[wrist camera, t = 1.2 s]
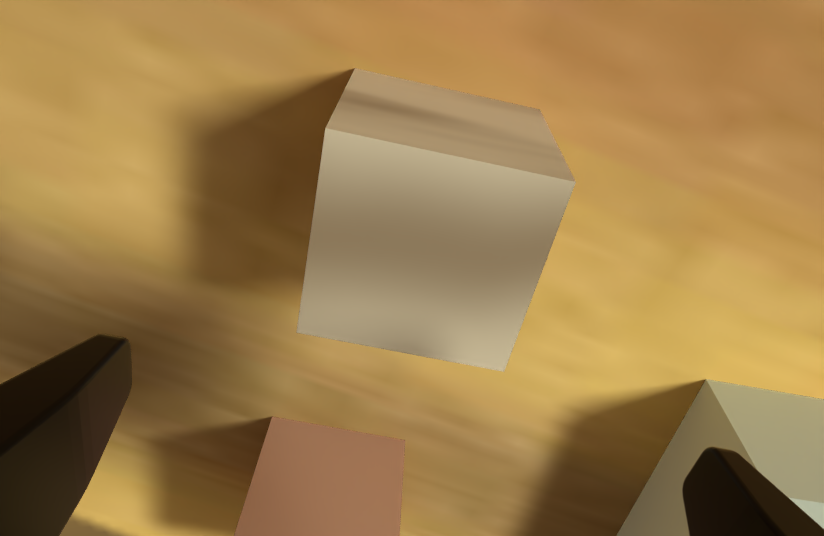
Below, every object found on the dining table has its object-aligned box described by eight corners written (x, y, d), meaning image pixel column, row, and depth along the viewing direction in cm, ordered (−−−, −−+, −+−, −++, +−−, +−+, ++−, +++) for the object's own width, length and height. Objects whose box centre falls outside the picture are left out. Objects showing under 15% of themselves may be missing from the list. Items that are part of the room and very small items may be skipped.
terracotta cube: (381, 521, 25) (369, 647, 21) (261, 501, 25) (225, 625, 21) (405, 438, 23) (397, 561, 19) (272, 415, 22) (233, 535, 18)
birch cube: (488, 265, 19) (503, 371, 15) (329, 233, 18) (296, 332, 14) (539, 108, 16) (575, 181, 12) (355, 67, 16) (325, 127, 12)
